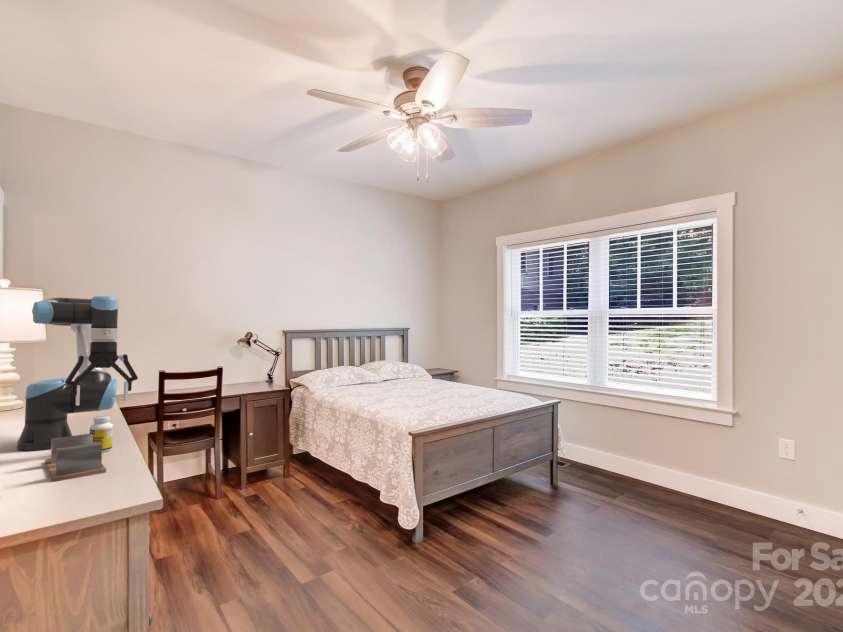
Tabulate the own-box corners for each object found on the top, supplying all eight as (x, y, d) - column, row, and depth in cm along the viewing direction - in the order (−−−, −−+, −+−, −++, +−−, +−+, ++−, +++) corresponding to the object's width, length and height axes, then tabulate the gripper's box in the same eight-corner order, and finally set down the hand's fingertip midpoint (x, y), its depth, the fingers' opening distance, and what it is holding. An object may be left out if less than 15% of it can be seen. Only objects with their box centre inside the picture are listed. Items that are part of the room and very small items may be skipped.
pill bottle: (84, 452, 150) (85, 417, 151) (104, 447, 156) (105, 414, 157) (97, 454, 148) (98, 419, 148) (116, 449, 154) (117, 415, 154)
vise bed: (44, 462, 138) (45, 436, 138) (92, 455, 146) (93, 430, 147) (52, 481, 121) (53, 452, 121) (106, 472, 129) (106, 444, 129)
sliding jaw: (49, 458, 139) (49, 436, 139) (88, 452, 146) (89, 431, 146) (51, 463, 134) (52, 440, 134) (92, 457, 141) (92, 435, 141)
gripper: (58, 341, 142) (56, 408, 141) (148, 340, 159) (146, 400, 158) (56, 341, 147) (54, 405, 146) (142, 340, 165) (141, 397, 164)
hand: (102, 402), depth 152 cm, fingers open, 13 cm apart
